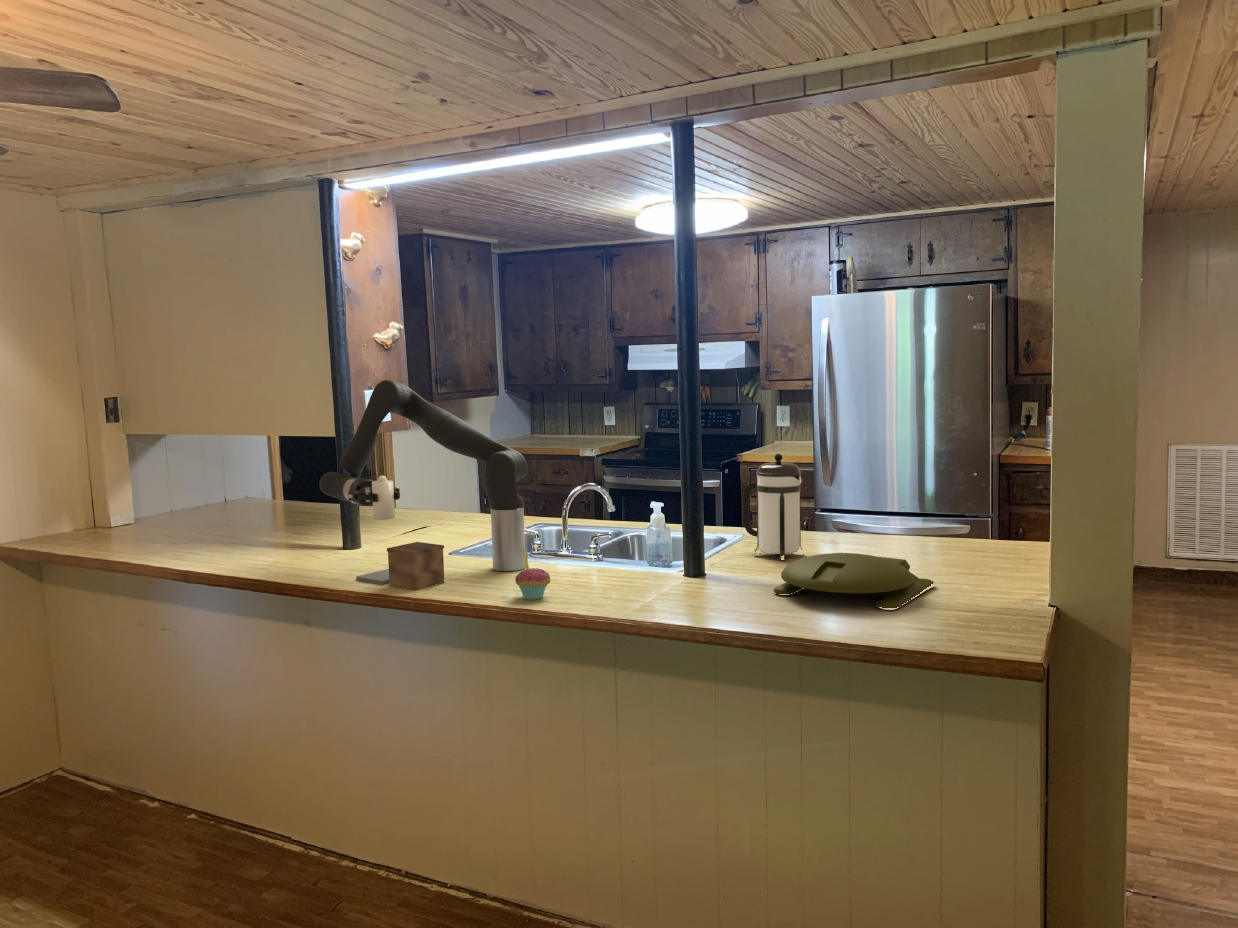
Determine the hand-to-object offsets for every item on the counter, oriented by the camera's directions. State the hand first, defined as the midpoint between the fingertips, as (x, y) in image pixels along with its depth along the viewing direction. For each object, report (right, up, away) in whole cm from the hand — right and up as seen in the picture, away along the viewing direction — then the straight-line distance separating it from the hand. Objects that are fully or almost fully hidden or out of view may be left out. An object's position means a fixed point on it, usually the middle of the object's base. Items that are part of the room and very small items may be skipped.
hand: (387, 496), depth 239 cm
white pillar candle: (-1, -6, +3) cm, 7 cm away
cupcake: (+41, -24, -21) cm, 52 cm away
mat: (-1, -22, +4) cm, 23 cm away
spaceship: (+118, -23, -24) cm, 122 cm away
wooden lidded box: (+9, -23, -4) cm, 25 cm away
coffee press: (+108, -18, +22) cm, 111 cm away
